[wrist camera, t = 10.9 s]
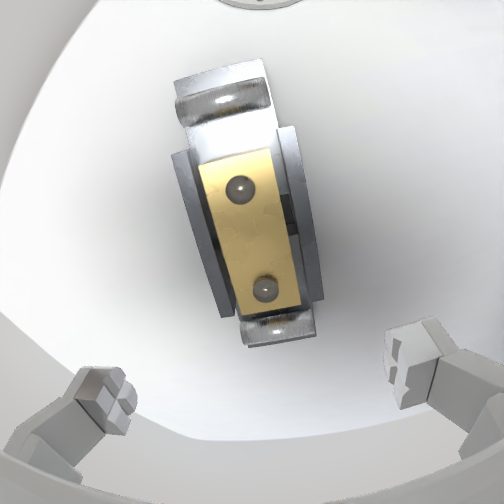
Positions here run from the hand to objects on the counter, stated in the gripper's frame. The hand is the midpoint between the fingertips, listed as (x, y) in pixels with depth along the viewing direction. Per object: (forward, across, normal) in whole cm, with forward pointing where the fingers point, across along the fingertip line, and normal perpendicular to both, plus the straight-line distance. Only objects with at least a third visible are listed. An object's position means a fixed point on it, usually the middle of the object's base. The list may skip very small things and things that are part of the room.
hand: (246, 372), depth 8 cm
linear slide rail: (+16, 0, 0) cm, 16 cm away
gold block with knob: (+14, 0, 0) cm, 14 cm away
